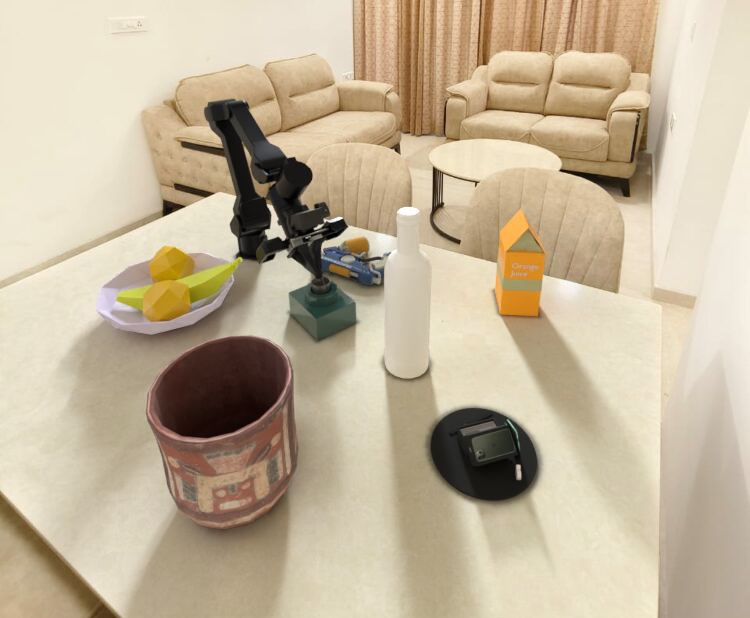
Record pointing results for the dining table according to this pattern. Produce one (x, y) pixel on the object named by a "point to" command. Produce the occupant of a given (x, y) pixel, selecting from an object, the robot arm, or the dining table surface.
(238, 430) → the pottery
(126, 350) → the dining table surface
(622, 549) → the dining table surface
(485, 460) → the black round electronic device
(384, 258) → the blue toy blaster
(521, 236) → the orange juice
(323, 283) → the dark grey button cap
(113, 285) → the fruit bowl
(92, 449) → the dining table surface
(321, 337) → the button housing
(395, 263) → the bottle
